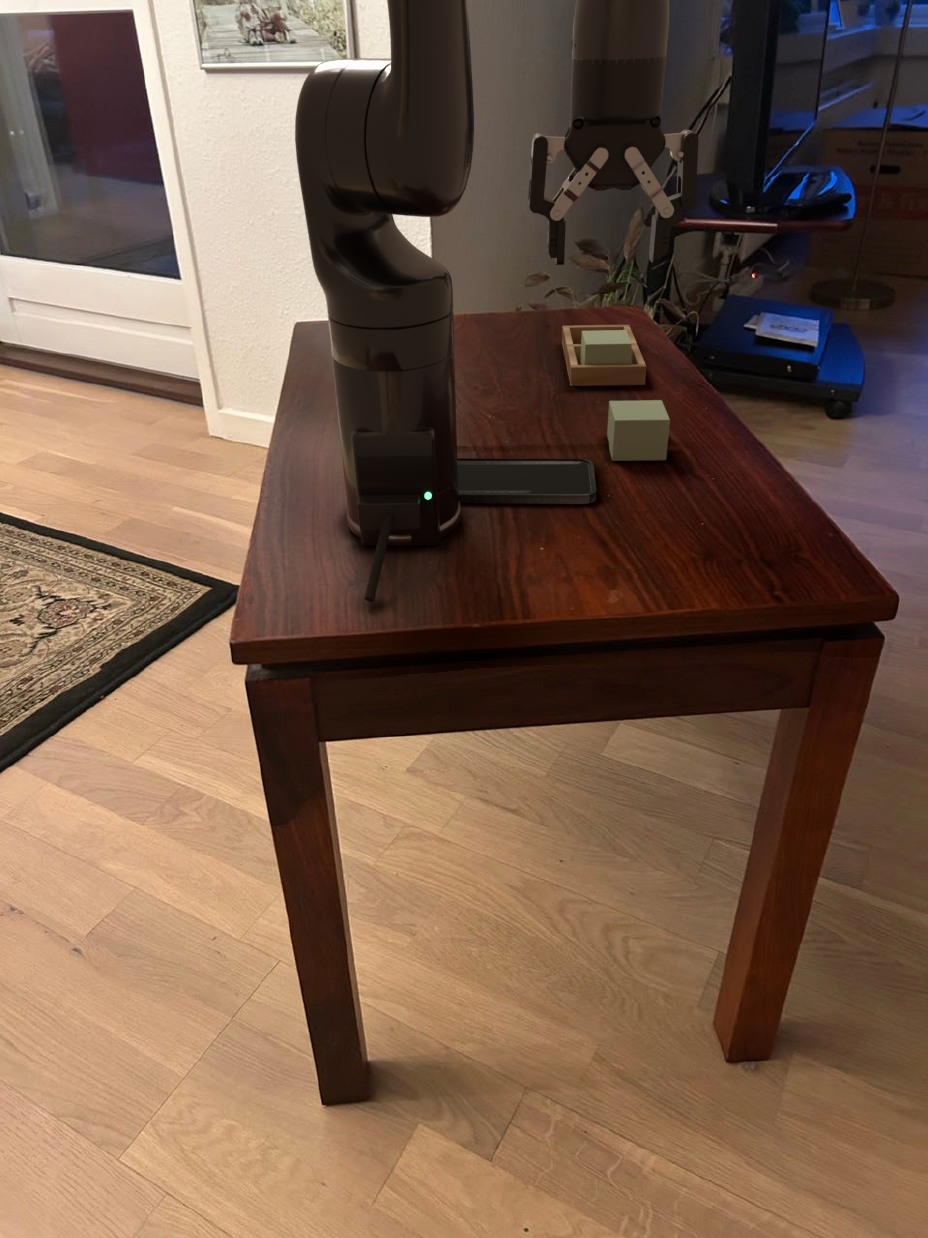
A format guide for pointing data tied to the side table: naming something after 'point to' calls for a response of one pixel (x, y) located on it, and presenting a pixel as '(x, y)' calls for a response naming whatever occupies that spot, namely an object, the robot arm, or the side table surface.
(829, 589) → the side table surface
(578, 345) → the holder
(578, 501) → the phone
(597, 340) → the green foam block
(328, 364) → the side table surface
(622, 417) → the green block
